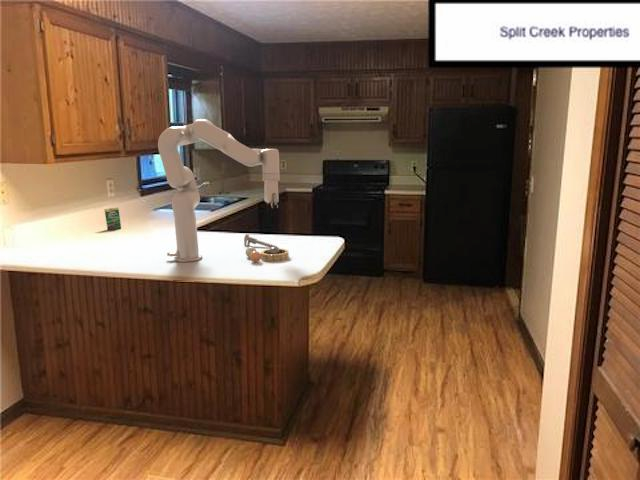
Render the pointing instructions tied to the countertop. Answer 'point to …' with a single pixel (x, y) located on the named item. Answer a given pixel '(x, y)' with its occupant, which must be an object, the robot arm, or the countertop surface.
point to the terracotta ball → (255, 256)
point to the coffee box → (112, 218)
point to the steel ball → (274, 250)
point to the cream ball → (250, 251)
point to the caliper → (254, 241)
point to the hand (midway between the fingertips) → (272, 215)
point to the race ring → (274, 255)
